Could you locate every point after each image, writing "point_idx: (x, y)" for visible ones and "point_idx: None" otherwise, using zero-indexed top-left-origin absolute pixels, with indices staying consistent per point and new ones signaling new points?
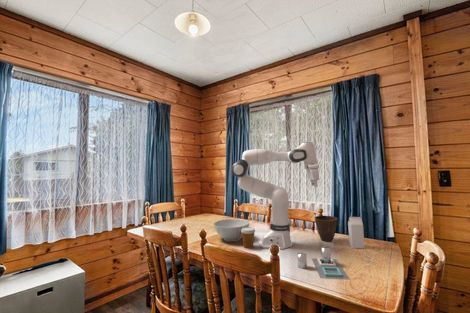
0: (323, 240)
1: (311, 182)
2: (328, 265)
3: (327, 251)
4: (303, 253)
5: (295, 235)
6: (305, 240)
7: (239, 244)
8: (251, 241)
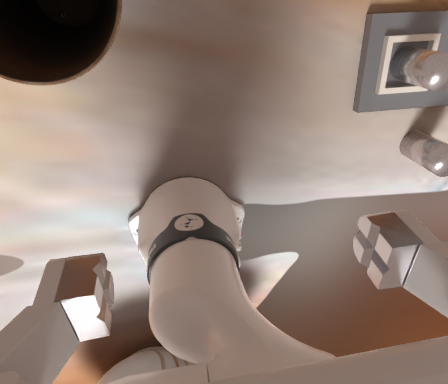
0: (95, 18)
1: (67, 353)
2: None
3: None
4: (443, 157)
5: (21, 163)
6: (99, 117)
7: None
8: None
